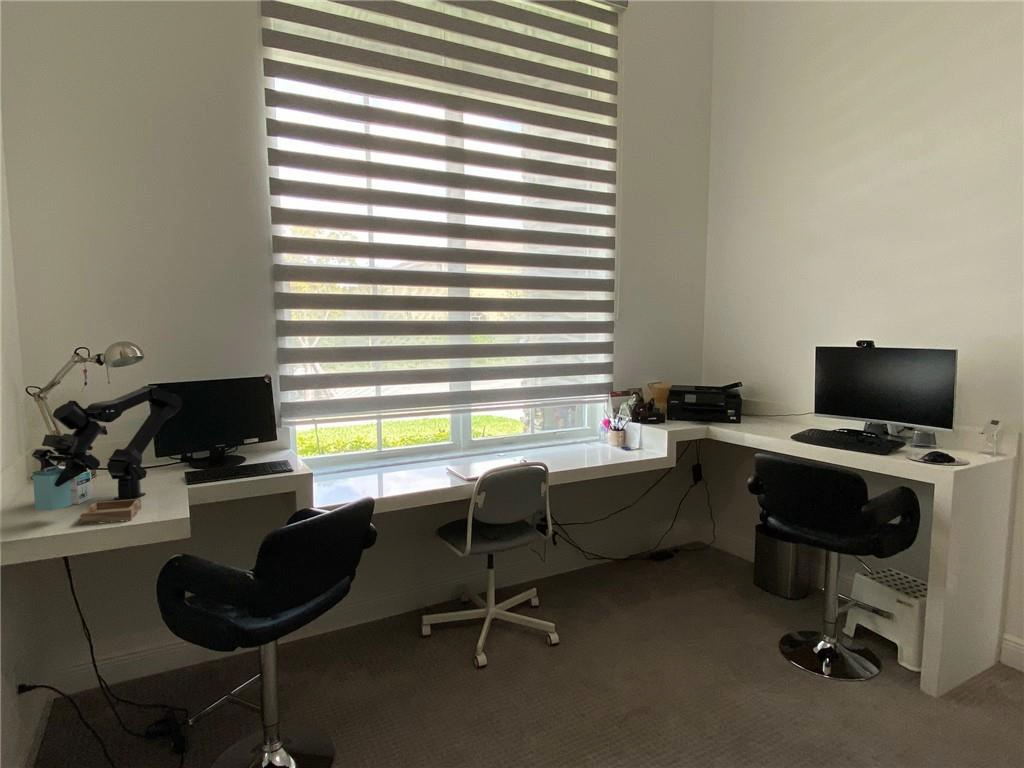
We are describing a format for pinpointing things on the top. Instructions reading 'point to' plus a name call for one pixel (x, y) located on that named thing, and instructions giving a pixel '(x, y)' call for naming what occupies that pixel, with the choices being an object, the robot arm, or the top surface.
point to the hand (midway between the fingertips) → (47, 485)
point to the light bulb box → (80, 487)
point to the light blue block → (50, 489)
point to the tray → (111, 511)
